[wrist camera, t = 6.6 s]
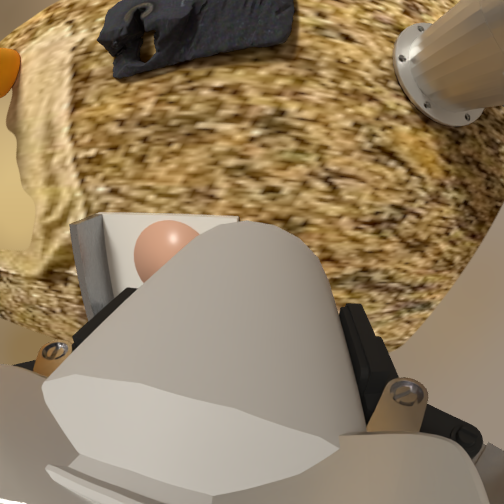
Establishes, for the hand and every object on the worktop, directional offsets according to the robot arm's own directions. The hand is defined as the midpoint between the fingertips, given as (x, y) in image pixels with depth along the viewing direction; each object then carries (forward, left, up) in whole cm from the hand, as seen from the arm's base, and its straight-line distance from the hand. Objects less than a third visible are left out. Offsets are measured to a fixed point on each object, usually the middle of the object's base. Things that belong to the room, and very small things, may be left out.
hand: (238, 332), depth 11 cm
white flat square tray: (+13, +7, -20) cm, 25 cm away
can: (0, 0, -4) cm, 4 cm away
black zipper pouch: (+9, -24, -21) cm, 33 cm away
